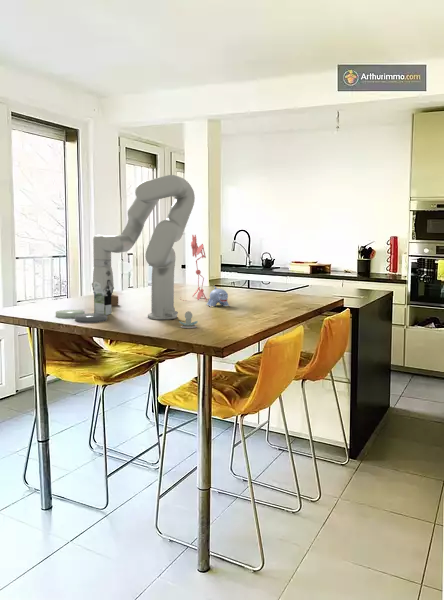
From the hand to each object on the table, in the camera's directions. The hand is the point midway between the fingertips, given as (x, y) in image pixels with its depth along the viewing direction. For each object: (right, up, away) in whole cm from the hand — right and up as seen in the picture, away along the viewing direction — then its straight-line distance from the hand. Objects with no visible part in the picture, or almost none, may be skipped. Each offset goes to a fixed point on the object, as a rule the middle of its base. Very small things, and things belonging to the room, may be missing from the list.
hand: (102, 303), depth 233 cm
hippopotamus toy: (+51, -2, +32) cm, 60 cm away
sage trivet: (-13, -6, -5) cm, 15 cm away
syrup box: (0, -5, +1) cm, 5 cm away
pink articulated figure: (+36, +2, +56) cm, 67 cm away
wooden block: (-3, -1, +27) cm, 27 cm away
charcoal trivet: (-2, -7, -13) cm, 15 cm away
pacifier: (+39, -10, -24) cm, 47 cm away
